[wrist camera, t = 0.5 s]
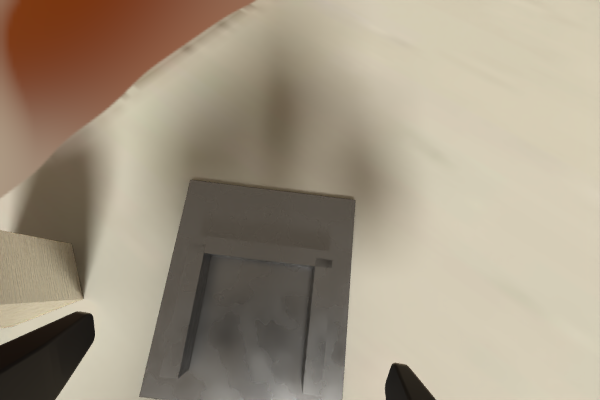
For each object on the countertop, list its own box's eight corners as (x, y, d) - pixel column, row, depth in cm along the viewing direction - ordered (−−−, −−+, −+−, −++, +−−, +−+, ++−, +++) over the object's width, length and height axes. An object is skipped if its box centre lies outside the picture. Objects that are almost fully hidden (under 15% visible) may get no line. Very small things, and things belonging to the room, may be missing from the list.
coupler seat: (339, 418, 21) (347, 436, 18) (141, 394, 21) (121, 409, 18) (354, 201, 25) (361, 192, 23) (191, 181, 25) (181, 170, 23)
